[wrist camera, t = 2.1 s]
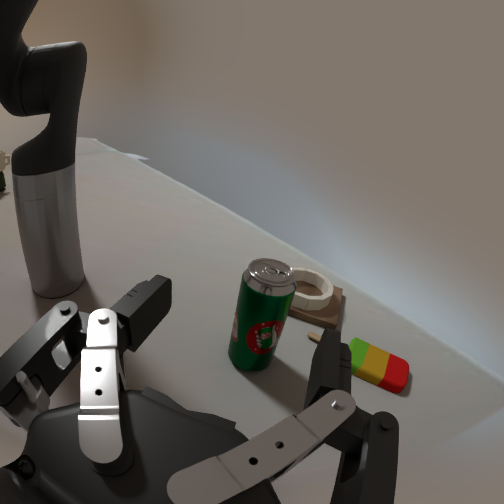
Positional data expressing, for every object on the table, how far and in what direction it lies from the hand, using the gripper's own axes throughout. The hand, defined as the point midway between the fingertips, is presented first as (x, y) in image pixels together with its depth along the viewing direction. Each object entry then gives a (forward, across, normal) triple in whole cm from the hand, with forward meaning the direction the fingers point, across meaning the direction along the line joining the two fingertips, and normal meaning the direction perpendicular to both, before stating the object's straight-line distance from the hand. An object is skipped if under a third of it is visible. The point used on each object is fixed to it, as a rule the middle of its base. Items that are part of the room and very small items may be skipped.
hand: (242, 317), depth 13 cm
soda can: (+11, 0, +16) cm, 19 cm away
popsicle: (+16, -13, +16) cm, 26 cm away
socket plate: (+26, -4, +15) cm, 31 cm away
